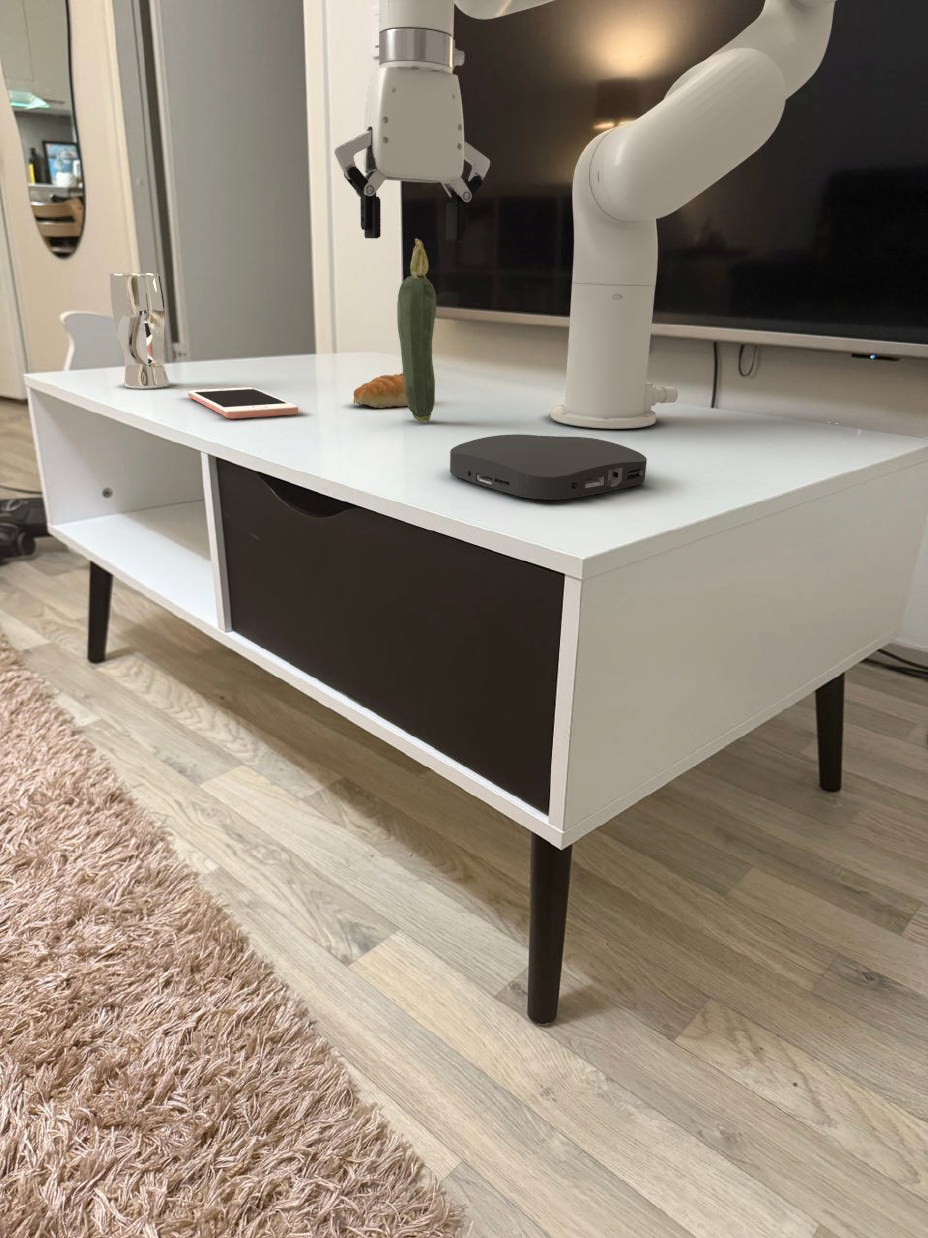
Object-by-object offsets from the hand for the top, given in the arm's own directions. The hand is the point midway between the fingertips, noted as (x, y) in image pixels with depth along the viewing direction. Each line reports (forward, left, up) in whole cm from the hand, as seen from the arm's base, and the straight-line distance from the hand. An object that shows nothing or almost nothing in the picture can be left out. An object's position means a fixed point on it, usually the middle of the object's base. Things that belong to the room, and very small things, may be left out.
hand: (414, 239), depth 98 cm
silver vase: (+25, -40, -20) cm, 51 cm away
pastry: (-2, -14, -20) cm, 24 cm away
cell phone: (+16, -18, -20) cm, 31 cm away
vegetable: (0, 0, -20) cm, 20 cm away
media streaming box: (0, +30, -20) cm, 36 cm away
